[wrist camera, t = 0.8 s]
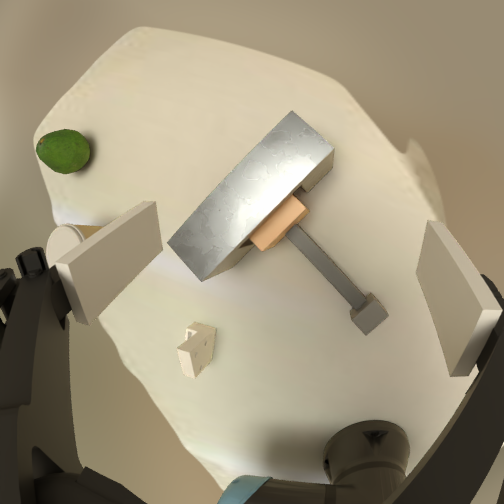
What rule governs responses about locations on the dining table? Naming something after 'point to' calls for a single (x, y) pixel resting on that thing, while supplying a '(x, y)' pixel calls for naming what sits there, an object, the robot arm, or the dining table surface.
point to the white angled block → (196, 349)
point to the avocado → (63, 151)
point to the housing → (252, 196)
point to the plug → (318, 261)
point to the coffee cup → (67, 240)
